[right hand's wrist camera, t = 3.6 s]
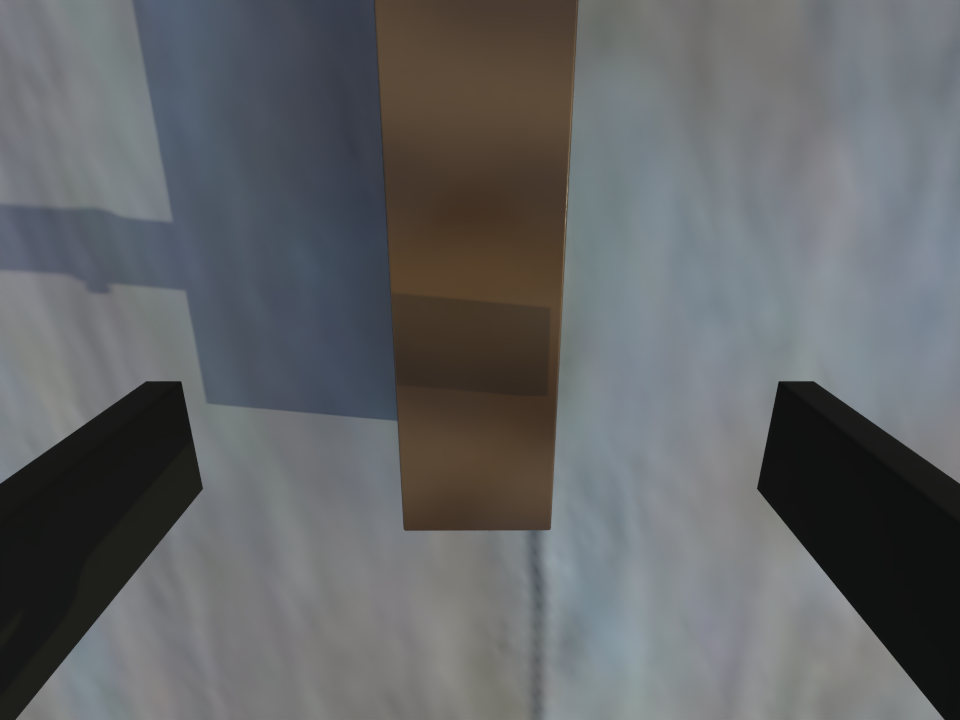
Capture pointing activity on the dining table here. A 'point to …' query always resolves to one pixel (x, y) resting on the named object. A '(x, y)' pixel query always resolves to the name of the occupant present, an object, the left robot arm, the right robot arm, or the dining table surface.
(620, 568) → the dining table surface
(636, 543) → the dining table surface
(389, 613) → the dining table surface
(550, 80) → the beam
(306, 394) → the dining table surface
